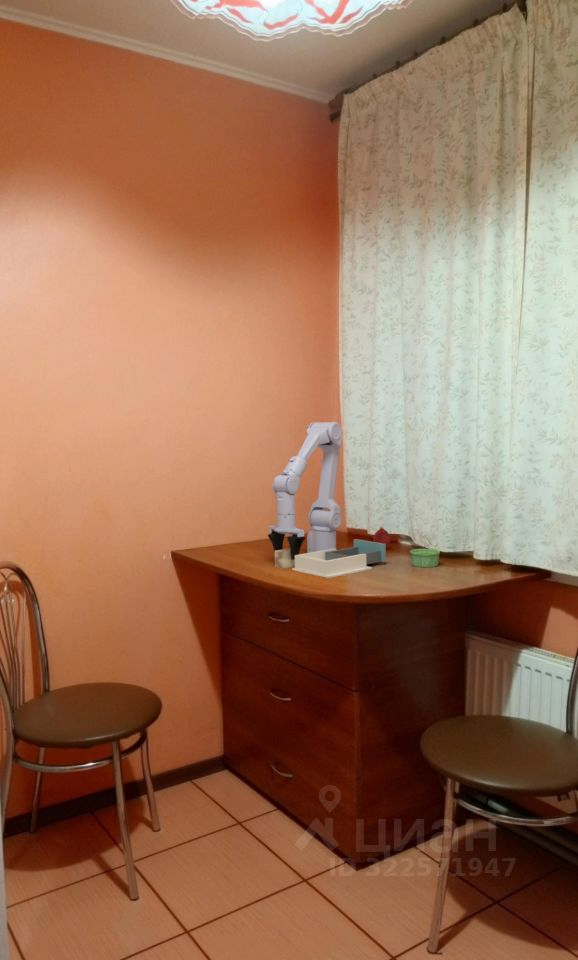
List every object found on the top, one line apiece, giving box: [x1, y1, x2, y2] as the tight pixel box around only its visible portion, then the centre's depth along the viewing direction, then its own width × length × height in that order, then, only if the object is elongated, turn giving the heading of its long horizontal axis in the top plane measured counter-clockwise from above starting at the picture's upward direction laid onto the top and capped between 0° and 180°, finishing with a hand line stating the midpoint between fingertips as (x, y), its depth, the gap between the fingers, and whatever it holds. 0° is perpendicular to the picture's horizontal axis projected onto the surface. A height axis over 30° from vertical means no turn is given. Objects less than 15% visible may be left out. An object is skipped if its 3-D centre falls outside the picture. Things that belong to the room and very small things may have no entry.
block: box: [274, 547, 295, 569], centre depth 232 cm, size 4×6×5 cm
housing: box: [291, 548, 373, 579], centre depth 225 cm, size 18×16×5 cm
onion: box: [372, 526, 391, 548], centre depth 257 cm, size 6×6×8 cm
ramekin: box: [409, 548, 441, 568], centre depth 230 cm, size 9×9×4 cm
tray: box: [325, 538, 387, 565], centre depth 231 cm, size 14×13×6 cm
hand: (286, 557), depth 232 cm, fingers open, 7 cm apart
